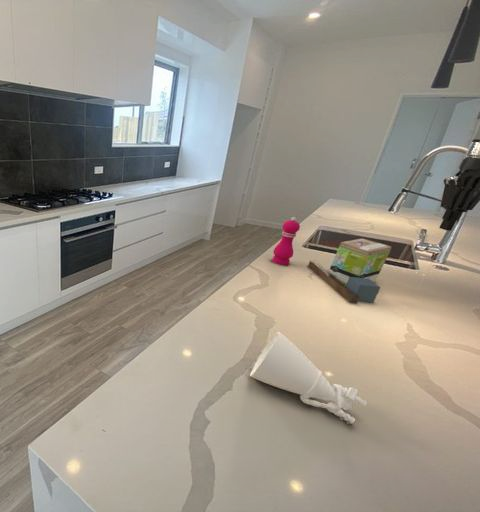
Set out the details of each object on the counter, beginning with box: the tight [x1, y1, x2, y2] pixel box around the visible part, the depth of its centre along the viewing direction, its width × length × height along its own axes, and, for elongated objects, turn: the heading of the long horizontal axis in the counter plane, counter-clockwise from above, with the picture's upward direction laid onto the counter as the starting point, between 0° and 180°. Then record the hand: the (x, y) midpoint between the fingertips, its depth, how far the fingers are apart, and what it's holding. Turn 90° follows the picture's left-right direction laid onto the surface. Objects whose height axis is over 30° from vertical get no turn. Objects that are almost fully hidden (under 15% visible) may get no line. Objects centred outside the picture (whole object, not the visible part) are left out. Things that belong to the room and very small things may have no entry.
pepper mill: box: [271, 216, 301, 266], centre depth 124 cm, size 7×7×20 cm
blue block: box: [345, 277, 381, 304], centre depth 101 cm, size 6×6×6 cm
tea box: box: [328, 238, 393, 286], centre depth 112 cm, size 15×10×15 cm, turn 116°
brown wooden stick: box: [307, 260, 360, 305], centre depth 111 cm, size 30×2×2 cm, turn 169°
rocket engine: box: [249, 331, 368, 424], centre depth 61 cm, size 12×12×18 cm
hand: (444, 229), depth 102 cm, fingers closed
